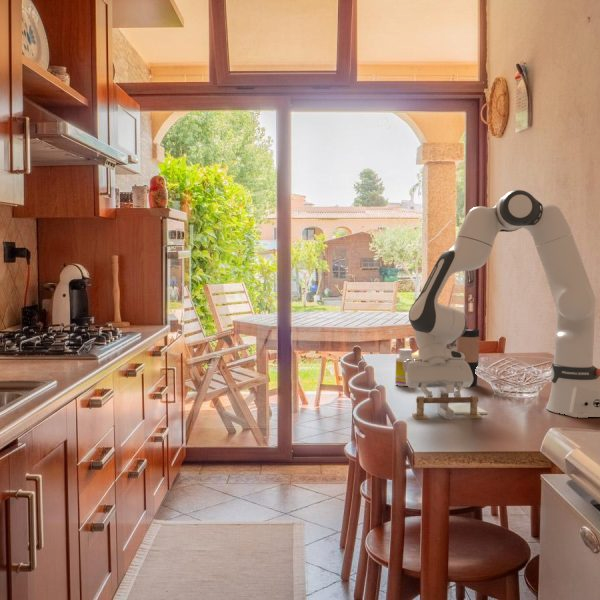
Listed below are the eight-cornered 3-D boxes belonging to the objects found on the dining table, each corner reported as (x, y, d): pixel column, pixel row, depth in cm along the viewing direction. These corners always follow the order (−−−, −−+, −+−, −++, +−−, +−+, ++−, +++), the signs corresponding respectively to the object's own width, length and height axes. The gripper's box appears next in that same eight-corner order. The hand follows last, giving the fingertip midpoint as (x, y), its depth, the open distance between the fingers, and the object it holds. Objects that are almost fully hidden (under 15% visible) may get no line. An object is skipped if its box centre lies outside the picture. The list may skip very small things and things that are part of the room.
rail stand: (477, 415, 214) (477, 395, 214) (481, 418, 211) (482, 397, 210) (412, 416, 212) (412, 395, 211) (415, 419, 208) (416, 398, 208)
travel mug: (462, 387, 256) (464, 330, 255) (452, 383, 264) (453, 328, 262) (481, 386, 258) (483, 330, 257) (471, 382, 266) (472, 327, 264)
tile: (475, 406, 226) (475, 404, 226) (487, 414, 216) (487, 412, 216) (443, 406, 224) (443, 405, 224) (454, 414, 215) (454, 412, 215)
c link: (445, 412, 216) (446, 379, 216) (453, 418, 209) (454, 384, 208) (437, 413, 216) (438, 379, 215) (445, 419, 209) (446, 384, 208)
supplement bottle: (413, 387, 254) (414, 351, 253) (394, 386, 256) (395, 350, 255) (414, 384, 261) (415, 348, 260) (395, 383, 262) (396, 347, 261)
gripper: (403, 353, 219) (411, 392, 211) (469, 353, 222) (479, 391, 213) (399, 365, 224) (407, 404, 215) (463, 365, 227) (473, 403, 218)
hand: (443, 398), depth 214 cm, fingers open, 7 cm apart
